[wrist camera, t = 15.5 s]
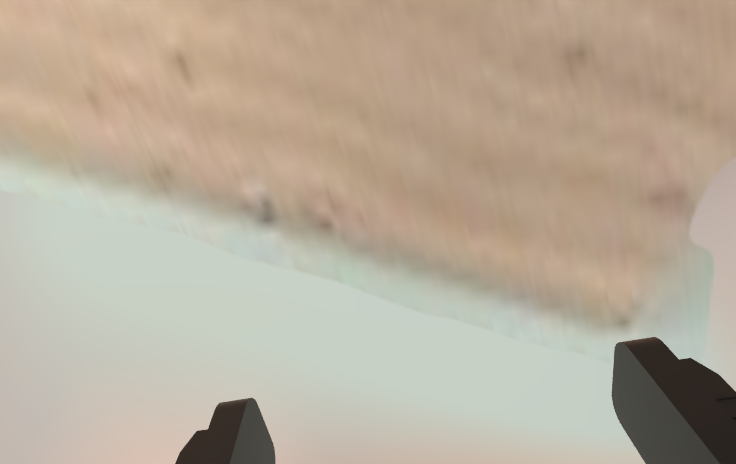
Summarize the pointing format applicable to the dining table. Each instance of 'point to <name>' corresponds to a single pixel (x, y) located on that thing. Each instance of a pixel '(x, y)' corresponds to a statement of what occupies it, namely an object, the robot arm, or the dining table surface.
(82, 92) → the dining table surface
